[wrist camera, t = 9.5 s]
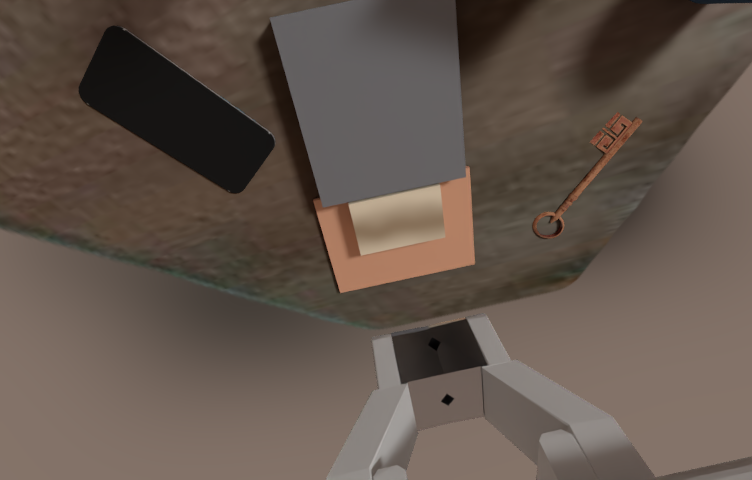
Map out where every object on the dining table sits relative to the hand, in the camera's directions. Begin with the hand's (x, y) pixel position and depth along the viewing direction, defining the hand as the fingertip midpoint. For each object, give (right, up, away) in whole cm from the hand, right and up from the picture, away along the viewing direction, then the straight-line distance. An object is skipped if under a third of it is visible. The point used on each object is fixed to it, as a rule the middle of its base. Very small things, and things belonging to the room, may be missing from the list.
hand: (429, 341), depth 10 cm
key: (+20, +10, +32) cm, 39 cm away
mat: (+1, +3, +32) cm, 32 cm away
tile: (+1, +6, +30) cm, 31 cm away
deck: (-1, +15, +25) cm, 29 cm away
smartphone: (-18, +14, +24) cm, 33 cm away
